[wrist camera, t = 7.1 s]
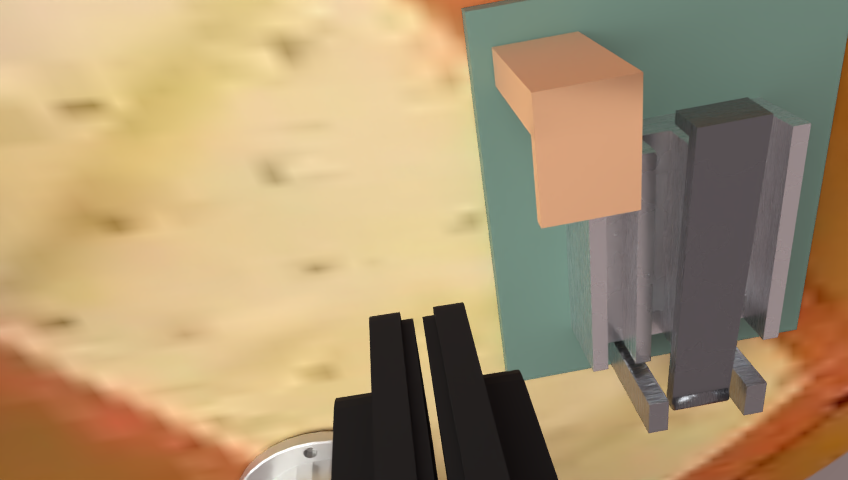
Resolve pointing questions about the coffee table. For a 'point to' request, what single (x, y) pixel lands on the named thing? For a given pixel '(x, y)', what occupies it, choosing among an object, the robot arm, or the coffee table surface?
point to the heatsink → (658, 264)
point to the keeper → (576, 124)
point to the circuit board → (662, 94)
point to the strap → (715, 244)
